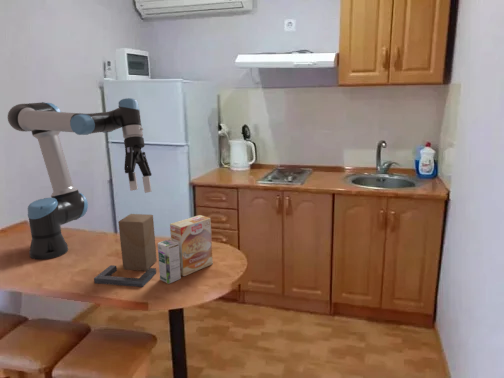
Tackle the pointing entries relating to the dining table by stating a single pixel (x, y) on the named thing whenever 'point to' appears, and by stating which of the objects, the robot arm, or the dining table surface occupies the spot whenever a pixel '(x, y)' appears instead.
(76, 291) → the dining table surface
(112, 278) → the dock
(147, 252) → the wooden block
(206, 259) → the coffeecake box
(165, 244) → the syrup box
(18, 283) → the dining table surface
